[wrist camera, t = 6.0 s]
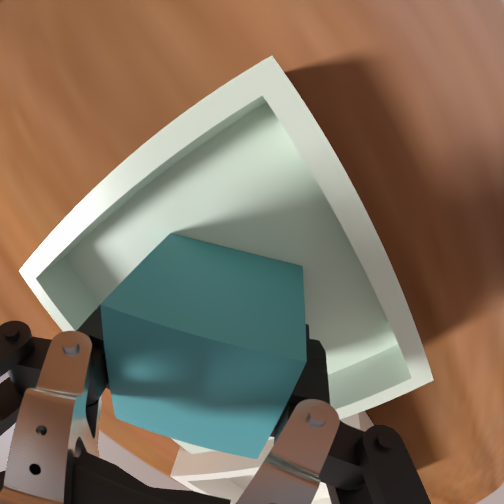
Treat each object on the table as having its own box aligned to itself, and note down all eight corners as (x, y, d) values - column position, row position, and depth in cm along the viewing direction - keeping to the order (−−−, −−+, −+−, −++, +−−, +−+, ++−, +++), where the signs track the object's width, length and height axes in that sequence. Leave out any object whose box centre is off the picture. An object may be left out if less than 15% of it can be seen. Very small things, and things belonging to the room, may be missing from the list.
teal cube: (161, 334, 13) (115, 417, 9) (170, 233, 11) (100, 304, 7) (269, 363, 13) (257, 459, 9) (302, 266, 11) (306, 361, 7)
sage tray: (57, 244, 13) (18, 271, 11) (277, 74, 9) (272, 55, 7) (203, 414, 17) (191, 454, 14) (414, 336, 13) (433, 380, 10)
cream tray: (181, 442, 19) (170, 476, 16) (355, 396, 15) (361, 440, 12) (270, 502, 22) (267, 528, 19) (403, 470, 18) (408, 499, 15)
